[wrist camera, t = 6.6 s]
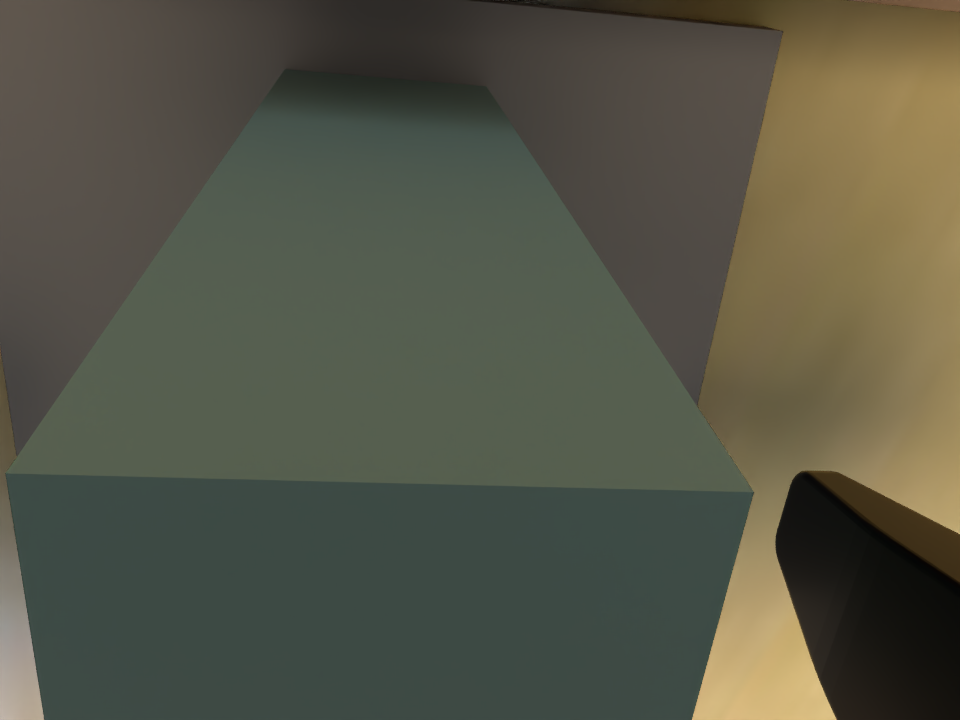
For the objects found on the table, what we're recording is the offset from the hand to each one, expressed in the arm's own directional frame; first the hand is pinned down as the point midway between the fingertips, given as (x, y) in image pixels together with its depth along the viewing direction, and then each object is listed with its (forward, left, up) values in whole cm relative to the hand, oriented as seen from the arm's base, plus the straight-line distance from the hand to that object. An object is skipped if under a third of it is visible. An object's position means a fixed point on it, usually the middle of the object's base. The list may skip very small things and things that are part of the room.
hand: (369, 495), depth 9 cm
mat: (0, 0, -5) cm, 5 cm away
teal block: (0, 0, -4) cm, 4 cm away
